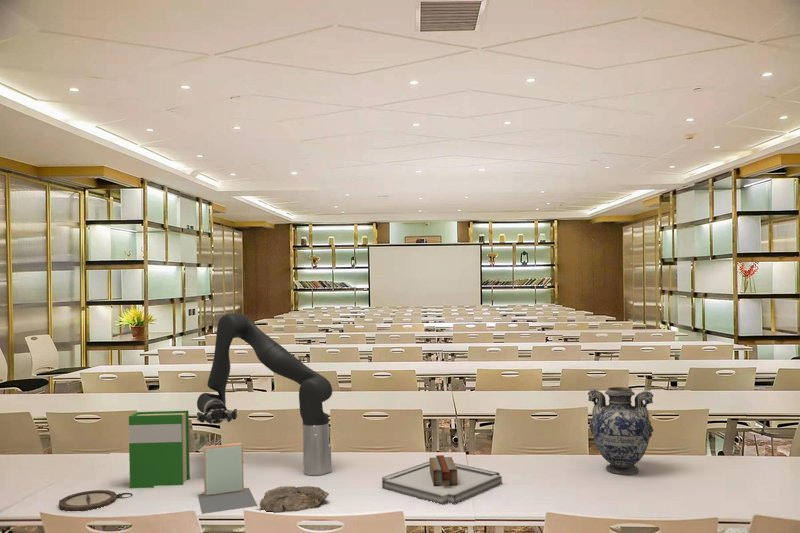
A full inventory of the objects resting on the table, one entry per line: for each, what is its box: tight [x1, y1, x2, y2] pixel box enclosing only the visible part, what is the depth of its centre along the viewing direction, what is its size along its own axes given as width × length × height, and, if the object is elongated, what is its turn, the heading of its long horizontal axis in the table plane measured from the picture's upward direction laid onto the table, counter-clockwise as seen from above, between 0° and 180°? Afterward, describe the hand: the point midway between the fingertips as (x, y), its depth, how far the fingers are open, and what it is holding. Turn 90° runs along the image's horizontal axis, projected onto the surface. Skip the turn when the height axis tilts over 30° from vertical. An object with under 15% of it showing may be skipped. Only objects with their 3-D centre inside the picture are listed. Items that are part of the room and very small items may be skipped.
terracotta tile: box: [202, 442, 245, 496], centre depth 209 cm, size 12×3×15 cm, turn 111°
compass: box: [58, 489, 134, 512], centre depth 204 cm, size 20×16×2 cm
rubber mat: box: [197, 487, 258, 515], centre depth 201 cm, size 16×19×1 cm
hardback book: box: [128, 410, 191, 489], centre depth 222 cm, size 18×7×24 cm, turn 90°
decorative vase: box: [587, 386, 654, 476], centre depth 223 cm, size 21×19×28 cm
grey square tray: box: [381, 454, 503, 506], centre depth 213 cm, size 30×30×8 cm
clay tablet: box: [259, 485, 330, 513], centre depth 198 cm, size 14×5×20 cm
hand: (219, 419), depth 218 cm, fingers open, 5 cm apart
